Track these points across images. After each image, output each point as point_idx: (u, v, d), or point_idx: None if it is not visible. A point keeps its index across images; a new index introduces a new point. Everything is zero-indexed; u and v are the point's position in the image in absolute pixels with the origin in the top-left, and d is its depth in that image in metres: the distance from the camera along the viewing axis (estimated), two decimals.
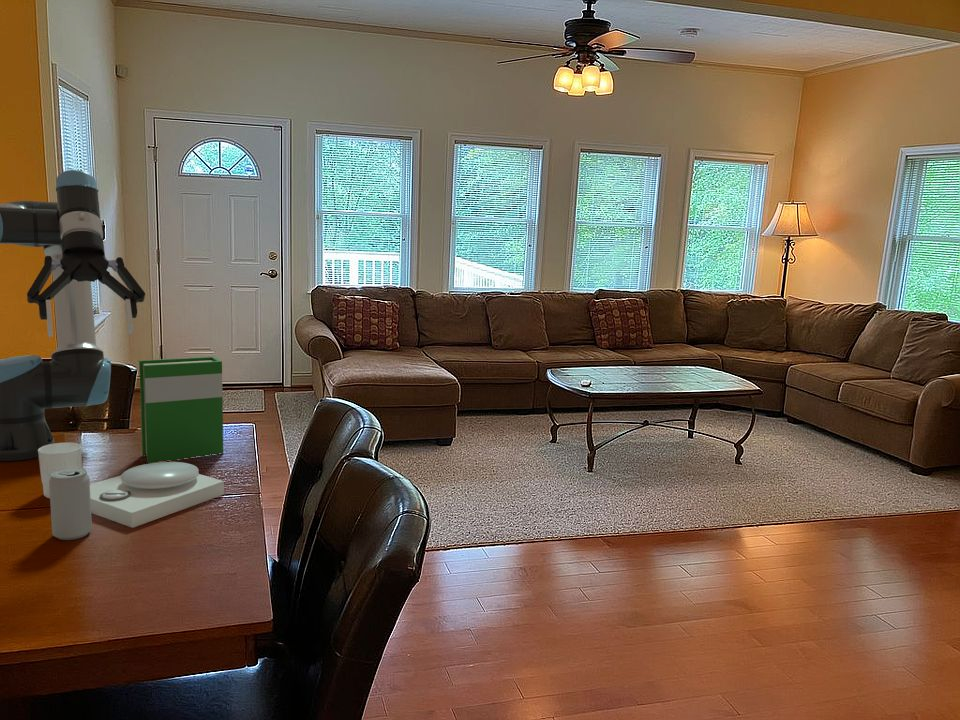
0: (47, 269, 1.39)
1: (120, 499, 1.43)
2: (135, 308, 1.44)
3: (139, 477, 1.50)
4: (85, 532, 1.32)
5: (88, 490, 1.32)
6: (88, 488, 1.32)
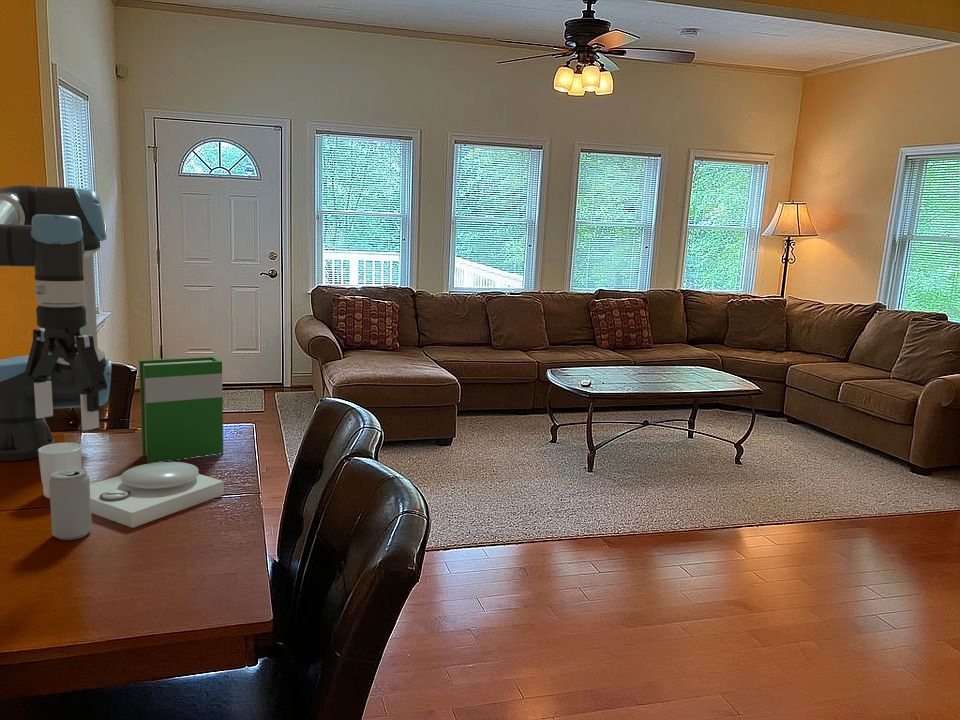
0: (34, 346, 1.30)
1: (120, 499, 1.43)
2: (90, 404, 1.25)
3: (139, 477, 1.50)
4: (85, 532, 1.32)
5: (88, 490, 1.32)
6: (88, 488, 1.32)
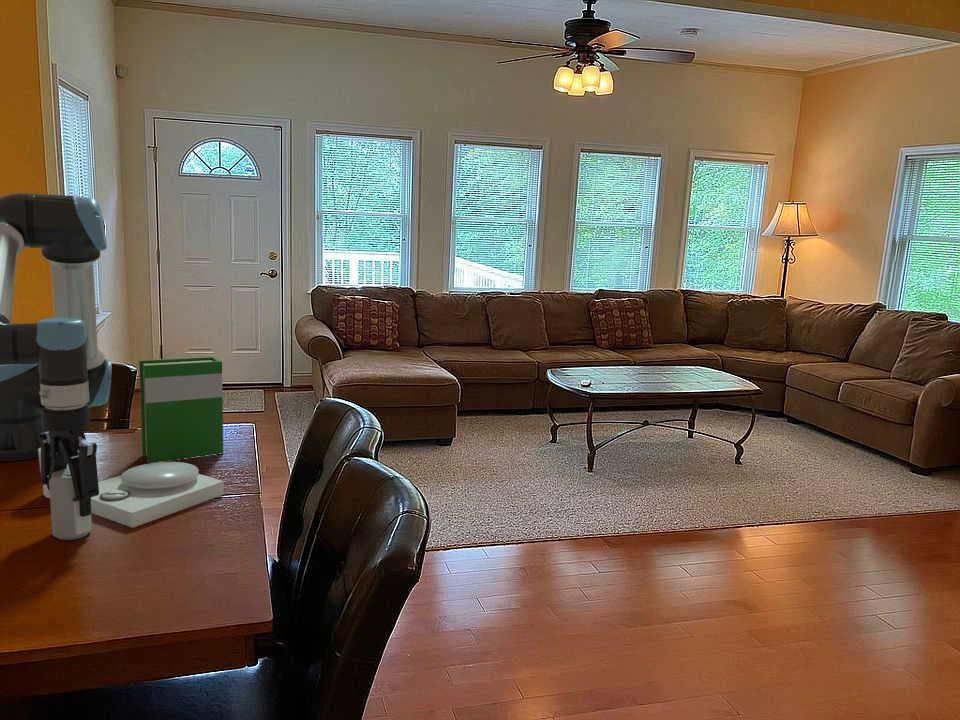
0: (43, 450, 1.32)
1: (120, 499, 1.43)
2: (82, 509, 1.29)
3: (139, 477, 1.50)
4: (85, 532, 1.32)
5: None
6: None
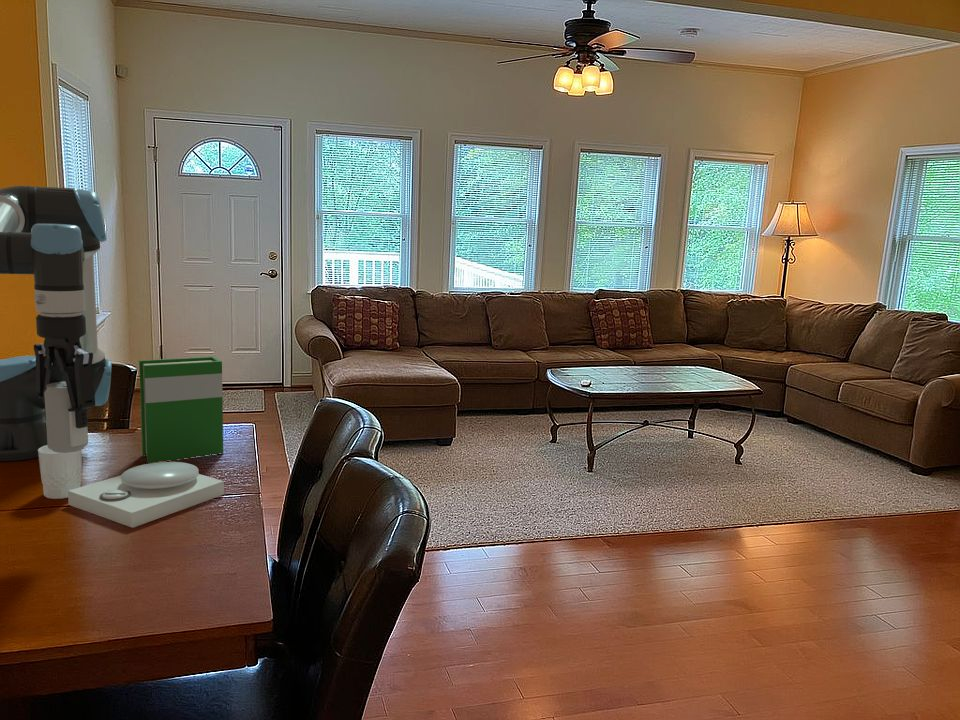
0: (38, 361, 1.29)
1: (120, 499, 1.43)
2: (78, 420, 1.27)
3: (139, 477, 1.50)
4: (81, 445, 1.29)
5: None
6: None
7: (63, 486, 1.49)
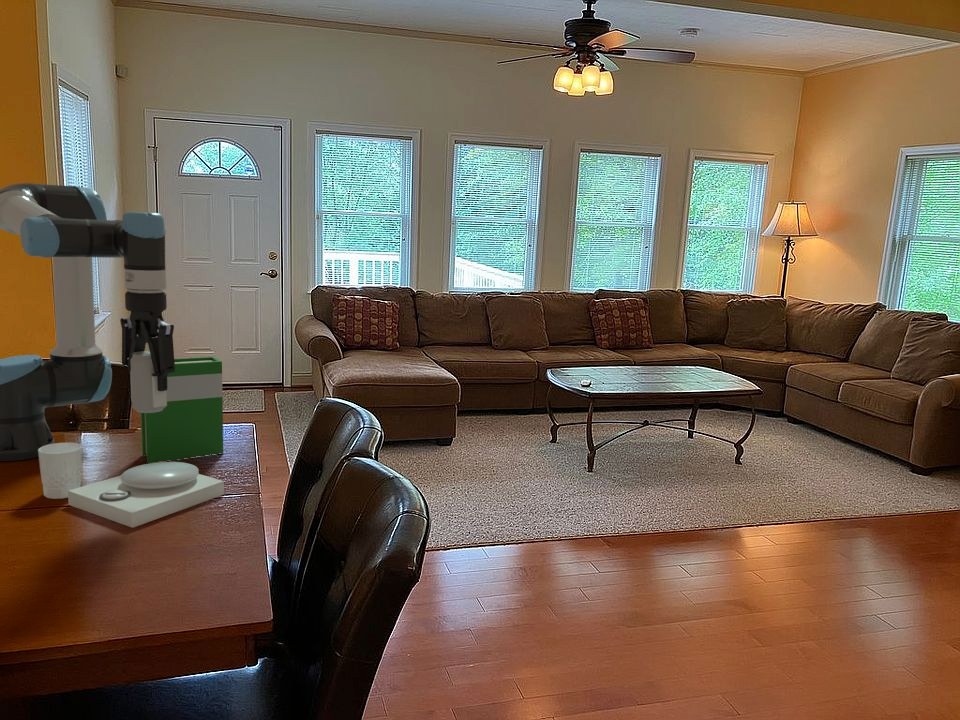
0: (124, 333, 1.48)
1: (120, 499, 1.43)
2: (160, 384, 1.45)
3: (139, 477, 1.50)
4: (161, 407, 1.47)
5: None
6: None
7: (63, 486, 1.49)
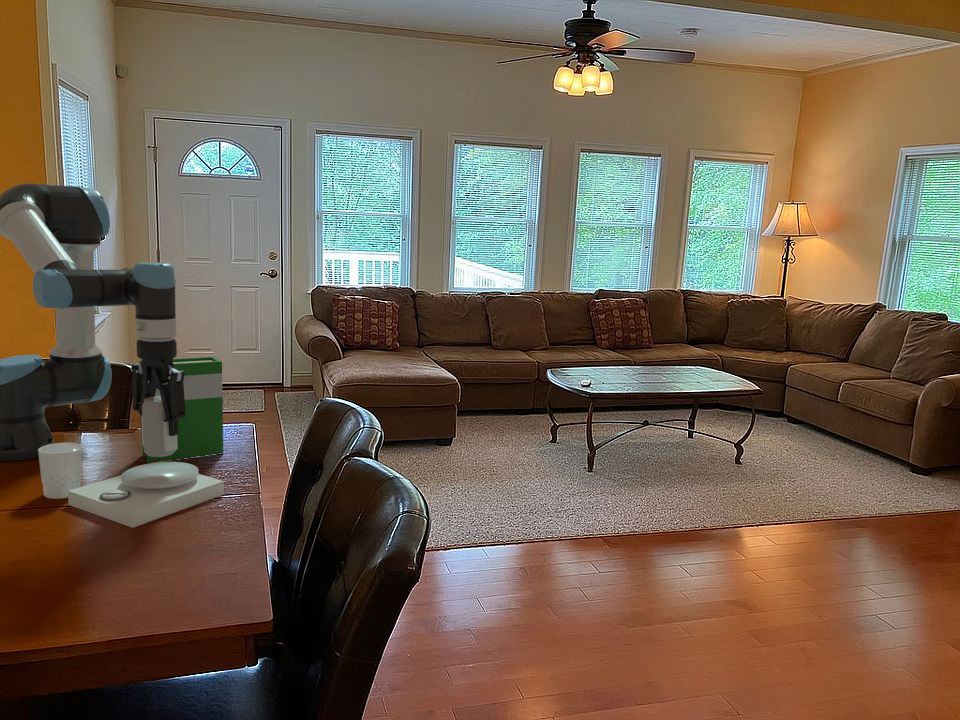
0: (135, 379, 1.51)
1: (120, 499, 1.43)
2: (171, 429, 1.49)
3: (139, 477, 1.50)
4: (172, 451, 1.51)
5: None
6: None
7: (63, 486, 1.49)
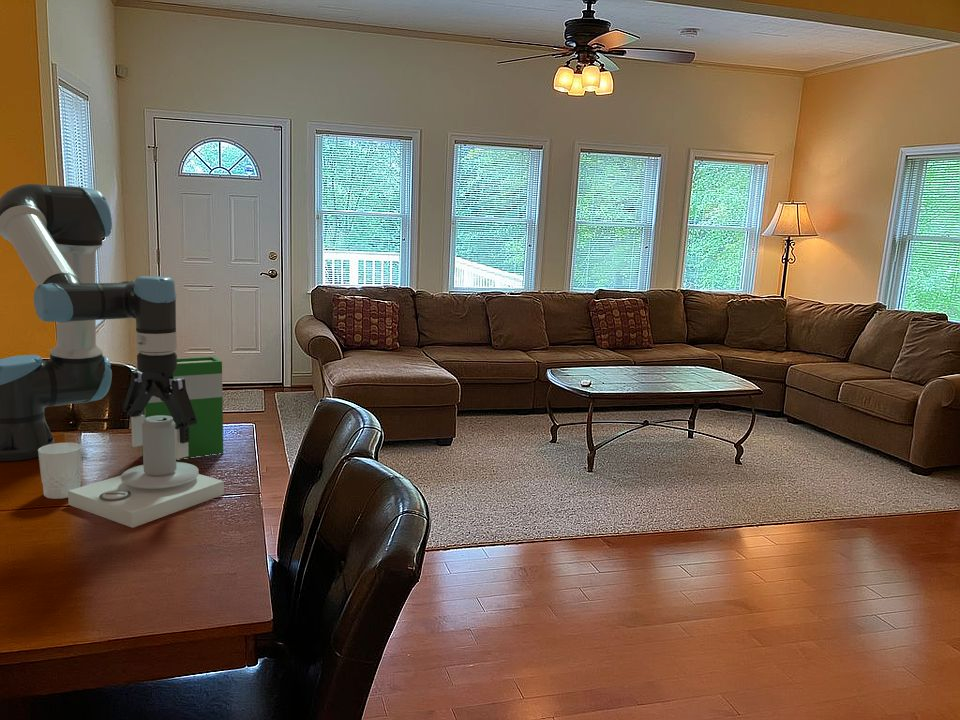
0: (132, 386, 1.52)
1: (120, 499, 1.43)
2: (182, 436, 1.47)
3: (139, 477, 1.50)
4: (172, 470, 1.52)
5: None
6: None
7: (63, 486, 1.49)
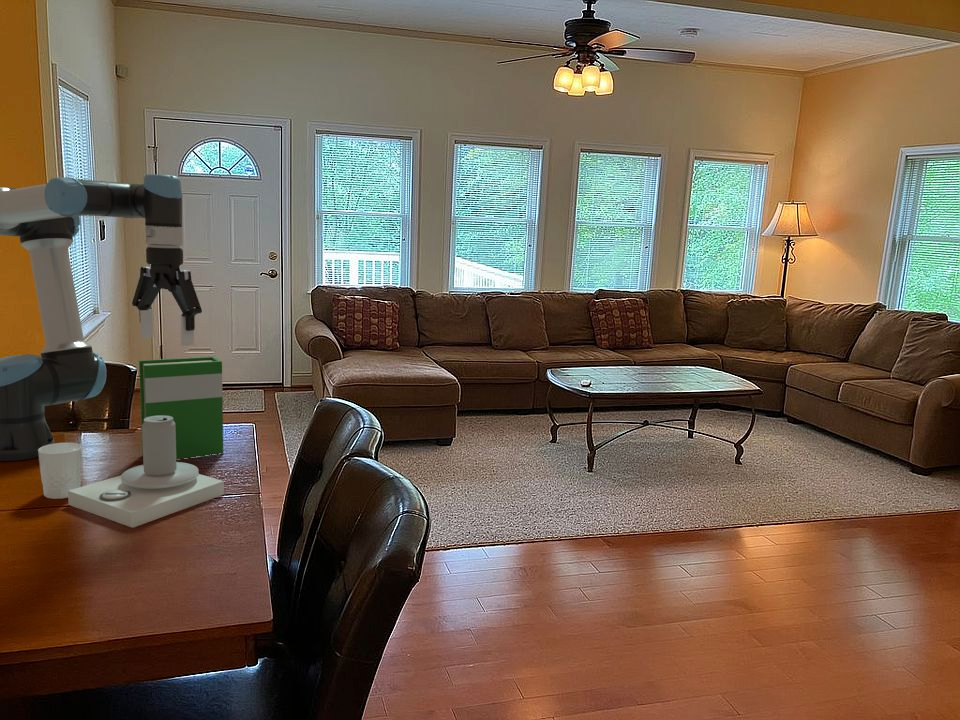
0: (141, 280, 1.63)
1: (120, 499, 1.43)
2: (188, 324, 1.58)
3: (139, 477, 1.50)
4: (172, 470, 1.52)
5: (174, 434, 1.52)
6: (174, 432, 1.52)
7: (63, 486, 1.49)
